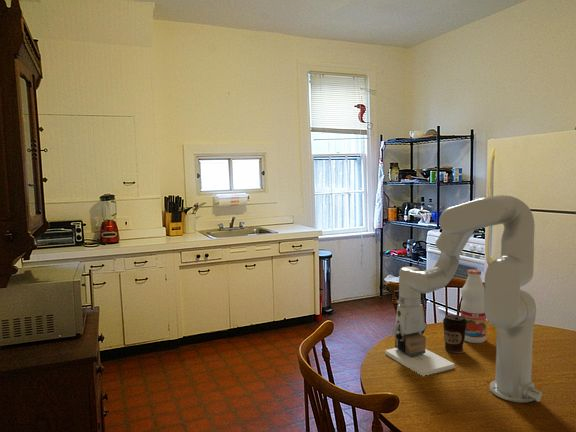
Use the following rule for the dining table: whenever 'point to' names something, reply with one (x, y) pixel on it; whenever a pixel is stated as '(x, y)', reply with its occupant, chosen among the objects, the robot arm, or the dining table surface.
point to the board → (421, 361)
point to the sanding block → (413, 344)
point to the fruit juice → (474, 307)
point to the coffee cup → (454, 333)
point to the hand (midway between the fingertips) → (409, 348)
